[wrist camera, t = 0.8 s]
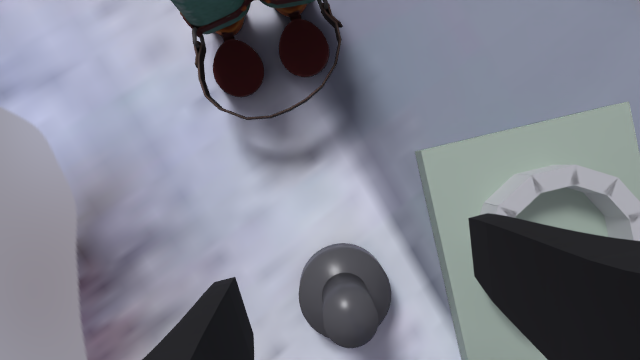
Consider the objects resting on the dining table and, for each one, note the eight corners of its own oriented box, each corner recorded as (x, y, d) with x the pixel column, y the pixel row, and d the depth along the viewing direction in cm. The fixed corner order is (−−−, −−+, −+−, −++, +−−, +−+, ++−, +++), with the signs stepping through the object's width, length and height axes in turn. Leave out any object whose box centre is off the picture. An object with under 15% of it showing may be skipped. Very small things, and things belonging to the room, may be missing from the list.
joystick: (393, 316, 27) (416, 360, 21) (311, 336, 26) (310, 386, 20) (374, 234, 26) (392, 254, 20) (291, 254, 26) (284, 280, 20)
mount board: (655, 325, 27) (706, 349, 23) (464, 371, 27) (486, 402, 23) (610, 105, 26) (656, 95, 23) (414, 151, 26) (430, 149, 22)
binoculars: (184, 136, 16) (97, -110, 15) (231, 132, 27) (183, -11, 25) (383, 74, 16) (315, -177, 15) (352, 95, 27) (311, -50, 25)
